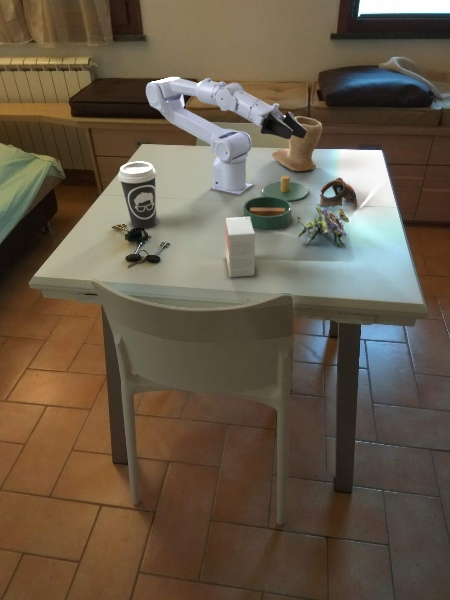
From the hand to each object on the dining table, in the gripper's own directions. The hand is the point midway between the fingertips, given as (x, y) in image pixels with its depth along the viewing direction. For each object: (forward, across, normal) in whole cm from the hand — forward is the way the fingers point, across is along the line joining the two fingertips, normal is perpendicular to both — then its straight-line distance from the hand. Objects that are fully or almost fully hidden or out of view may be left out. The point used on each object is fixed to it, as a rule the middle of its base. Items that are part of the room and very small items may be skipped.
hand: (298, 134), depth 120 cm
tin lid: (-1, +10, +18) cm, 21 cm away
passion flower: (+21, -10, +17) cm, 29 cm away
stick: (+4, -6, +21) cm, 22 cm away
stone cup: (-10, +31, +16) cm, 36 cm away
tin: (+4, -6, +21) cm, 22 cm away
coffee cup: (-20, -24, +33) cm, 45 cm away
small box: (+12, -28, +25) cm, 39 cm away
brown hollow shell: (+15, +11, +14) cm, 23 cm away
